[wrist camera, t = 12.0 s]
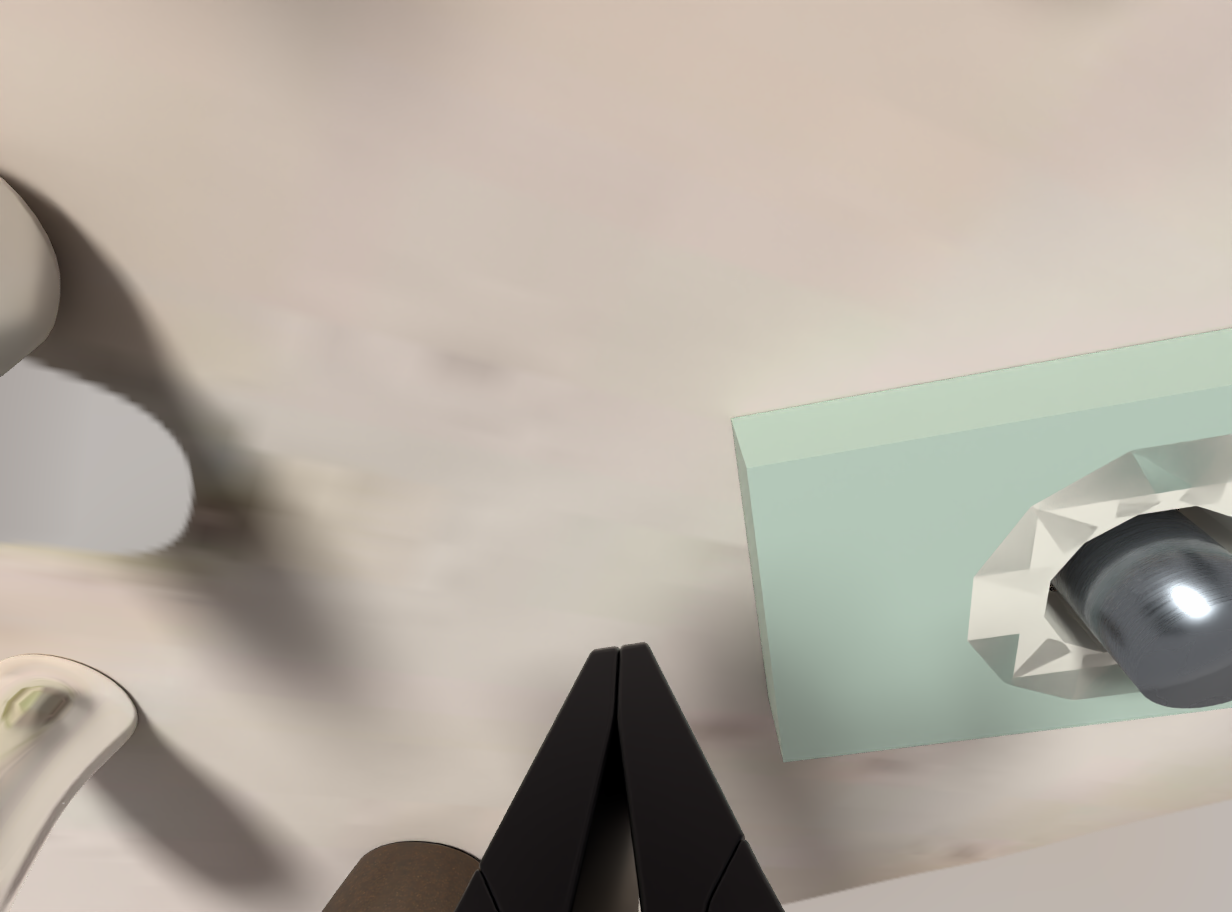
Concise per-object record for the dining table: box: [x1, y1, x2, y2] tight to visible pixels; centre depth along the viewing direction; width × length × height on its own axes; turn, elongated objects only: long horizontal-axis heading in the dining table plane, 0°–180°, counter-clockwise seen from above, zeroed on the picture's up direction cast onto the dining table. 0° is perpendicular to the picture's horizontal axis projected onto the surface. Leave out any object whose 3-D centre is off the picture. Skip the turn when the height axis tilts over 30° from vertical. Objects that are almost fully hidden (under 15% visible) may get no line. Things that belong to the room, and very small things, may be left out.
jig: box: [731, 328, 1232, 762], centre depth 22 cm, size 18×14×3 cm
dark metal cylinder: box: [1050, 509, 1232, 708], centre depth 21 cm, size 4×4×6 cm
